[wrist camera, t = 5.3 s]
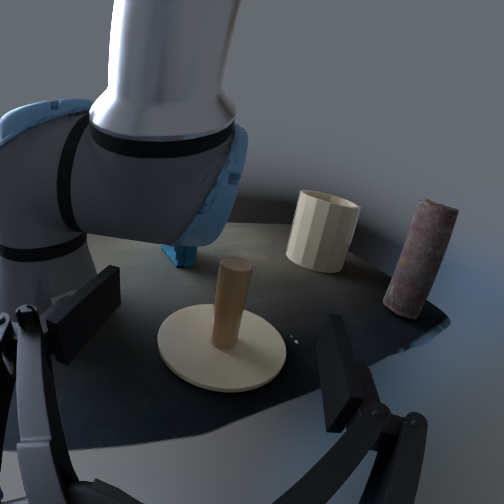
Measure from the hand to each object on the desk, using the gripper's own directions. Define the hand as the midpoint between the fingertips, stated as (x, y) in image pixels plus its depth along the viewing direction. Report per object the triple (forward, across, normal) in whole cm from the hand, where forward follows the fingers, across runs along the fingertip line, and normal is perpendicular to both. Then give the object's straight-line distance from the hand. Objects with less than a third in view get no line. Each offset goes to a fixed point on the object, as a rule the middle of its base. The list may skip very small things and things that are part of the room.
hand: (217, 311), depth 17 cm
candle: (+26, +28, -11) cm, 40 cm away
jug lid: (+10, 0, -11) cm, 14 cm away
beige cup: (+43, +14, -11) cm, 46 cm away
